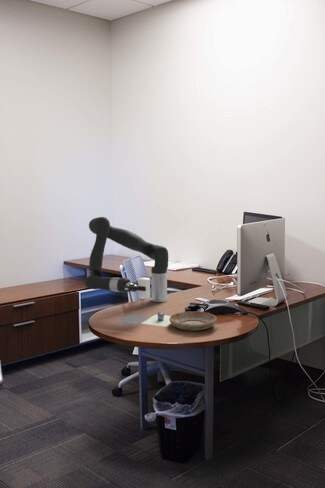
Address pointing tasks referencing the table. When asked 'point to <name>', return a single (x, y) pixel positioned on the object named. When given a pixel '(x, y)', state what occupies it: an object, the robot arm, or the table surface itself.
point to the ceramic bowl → (193, 320)
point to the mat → (133, 319)
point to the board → (154, 321)
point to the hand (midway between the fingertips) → (148, 287)
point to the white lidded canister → (145, 283)
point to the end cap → (197, 307)
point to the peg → (160, 316)
